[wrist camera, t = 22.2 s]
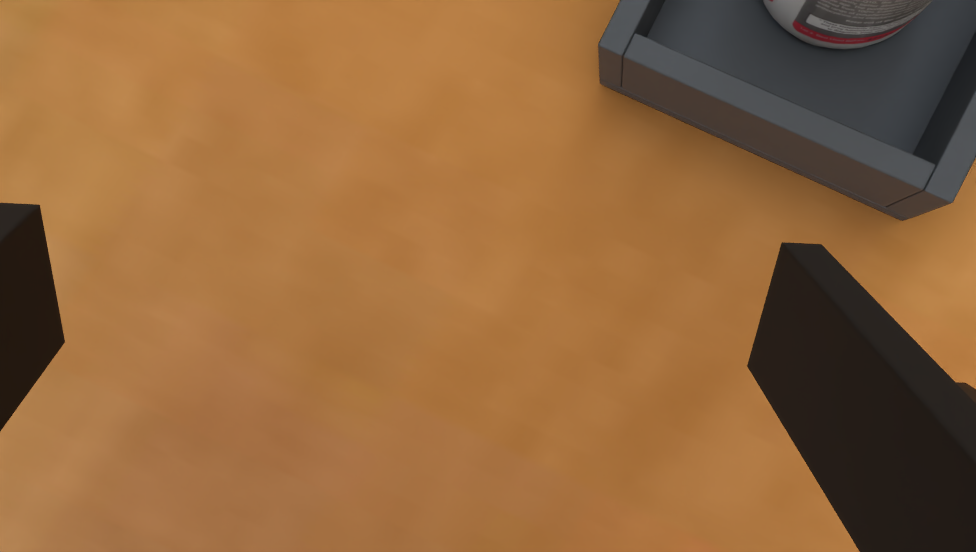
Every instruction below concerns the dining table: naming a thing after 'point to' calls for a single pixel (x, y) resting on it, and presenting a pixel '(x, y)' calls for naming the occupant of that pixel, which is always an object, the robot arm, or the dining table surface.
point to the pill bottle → (844, 20)
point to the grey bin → (811, 93)
